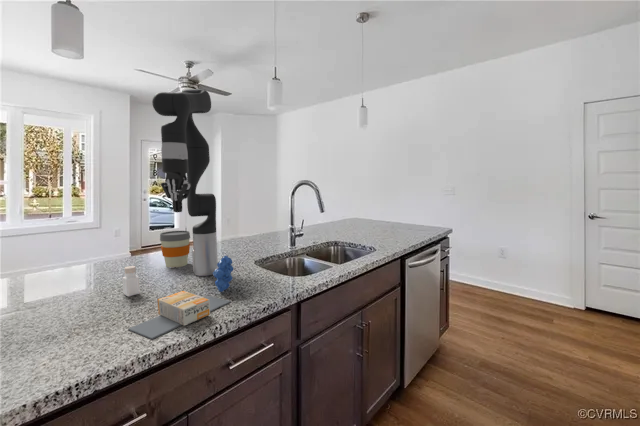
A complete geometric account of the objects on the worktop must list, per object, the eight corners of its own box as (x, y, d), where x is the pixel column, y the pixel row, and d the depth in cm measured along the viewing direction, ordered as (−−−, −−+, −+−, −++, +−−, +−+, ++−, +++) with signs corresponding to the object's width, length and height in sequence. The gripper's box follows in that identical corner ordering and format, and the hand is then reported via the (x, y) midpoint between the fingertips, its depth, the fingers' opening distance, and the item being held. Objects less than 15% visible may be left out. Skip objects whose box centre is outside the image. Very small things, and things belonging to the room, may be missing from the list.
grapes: (220, 283, 114) (219, 252, 113) (237, 284, 114) (236, 252, 112) (205, 295, 103) (204, 260, 102) (224, 296, 102) (223, 261, 101)
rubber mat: (128, 330, 79) (128, 328, 79) (208, 296, 102) (208, 295, 102) (152, 339, 74) (151, 338, 74) (230, 302, 97) (230, 301, 97)
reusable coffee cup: (184, 268, 134) (182, 235, 132) (155, 268, 134) (153, 235, 133) (196, 261, 146) (194, 230, 145) (170, 261, 147) (168, 230, 145)
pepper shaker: (136, 291, 107) (134, 264, 106) (140, 293, 105) (138, 266, 103) (123, 294, 104) (121, 267, 103) (127, 297, 101) (125, 269, 100)
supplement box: (182, 289, 94) (210, 298, 86) (183, 304, 94) (211, 314, 87) (156, 298, 87) (183, 309, 80) (157, 314, 87) (184, 326, 80)
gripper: (150, 157, 97) (154, 212, 99) (178, 156, 90) (181, 214, 93) (172, 158, 103) (175, 209, 105) (198, 158, 97) (201, 212, 99)
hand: (177, 212), depth 99 cm, fingers closed
